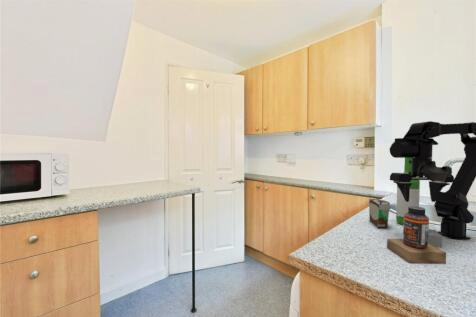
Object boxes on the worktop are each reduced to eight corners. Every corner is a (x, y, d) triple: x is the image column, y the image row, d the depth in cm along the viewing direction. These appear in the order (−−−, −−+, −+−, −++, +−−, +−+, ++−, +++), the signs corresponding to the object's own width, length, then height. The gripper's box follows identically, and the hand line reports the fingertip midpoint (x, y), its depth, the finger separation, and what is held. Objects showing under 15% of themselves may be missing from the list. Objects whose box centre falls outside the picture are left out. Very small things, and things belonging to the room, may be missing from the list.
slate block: (434, 241, 81) (435, 229, 81) (441, 248, 75) (442, 236, 75) (410, 237, 84) (410, 226, 84) (414, 244, 78) (415, 233, 78)
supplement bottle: (398, 243, 71) (399, 206, 71) (409, 239, 74) (410, 204, 73) (421, 250, 66) (422, 210, 65) (432, 246, 69) (433, 208, 68)
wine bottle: (411, 227, 95) (413, 153, 94) (391, 222, 102) (393, 153, 101) (422, 225, 98) (425, 153, 97) (403, 220, 105) (405, 153, 104)
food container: (396, 230, 91) (397, 205, 91) (379, 229, 92) (379, 204, 92) (383, 221, 103) (384, 198, 103) (368, 220, 104) (368, 198, 104)
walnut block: (418, 248, 75) (418, 238, 75) (445, 263, 65) (446, 252, 65) (386, 247, 75) (387, 238, 75) (409, 262, 65) (409, 252, 65)
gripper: (411, 158, 75) (410, 207, 75) (470, 158, 75) (468, 207, 75) (389, 157, 86) (388, 199, 87) (440, 157, 86) (439, 200, 86)
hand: (420, 201), depth 83 cm, fingers open, 9 cm apart
